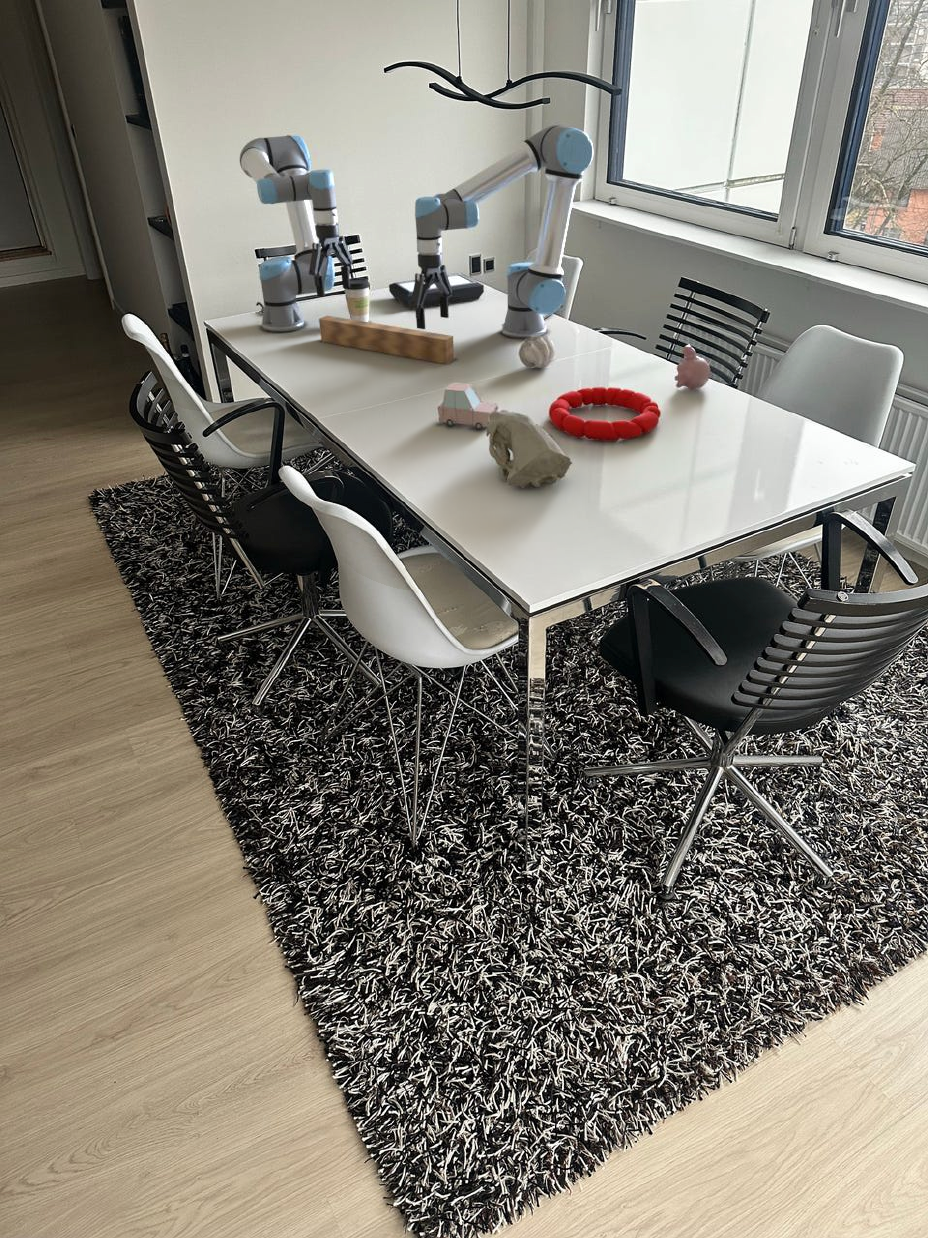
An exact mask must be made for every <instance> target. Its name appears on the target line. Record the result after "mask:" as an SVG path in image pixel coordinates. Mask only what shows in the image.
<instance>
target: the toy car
mask: <svg viewBox="0 0 928 1238" xmlns="http://www.w3.org/2000/svg"><path fill="white" fill-rule="evenodd" d="M498 409H499V404H498V403H497V402H490V401H489V402H487V401H483V397H481V396H480V395H479V394H478V393H477V391H476V390H475V389H474V386H472V384H469V383H459V382H451V383H450V384H449V385H448V386H447V387H446V388H445V389H444V394H443V399H442V403H440V404H439V405H438V406H437V413H438V421H439V422H443V423H446V425H447V426H448V427H452V426H454V425H455V424H461V425H469V426H473V427H475V429H476V430H479V431H480V430H481V429H483V428H485V427H486V428H487V423H488V422H490V414H491V413H492V412H496V411H499V410H498Z"/></svg>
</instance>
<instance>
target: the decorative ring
mask: <svg viewBox="0 0 928 1238" xmlns="http://www.w3.org/2000/svg"><path fill="white" fill-rule="evenodd" d="M583 405H584V406H586V407H587V406H591V405H593V406H604V405H608V406H614V407H619V408H624V409H628V410H632V411H635V412H636V413H638V414H639V415H637V416H635V417H632V418H631V419H630V420H625V419H624V420H623V419H622V420H614V421H611V422H609V421H607V420H606V421H605V420H593V419H587V420H586V421H585V419H584V418H582V417H579V416H577V415H573V414H571V413H570V410H571V409H579V408H581V407H582V406H583ZM548 416H549V419H550V422H551V423H552V425H553V426H554V427H555V428H556V429H558V430H559V431H561V432H563V433H567V434H568V435H569V436H573V437H576V438H580V439H582V438H583V437H585V438H586V439H587V440H591V441H601V442H602V441H603V442H608V441H609V442H610V441H611V442H612V441H615V442H616V441H618V440H630V439H634V438H638V437H641V436H642V434H647V433H650V432H651V431H653V430H654V429H655V428H656V427H657V426H658V424H659V422H660V421H659V420H660V417H661V410H660V408H659V405H658V403H657V402H656V401H652V399H651V397H649V396H648V395H646V394H644V393H642V392H635V391H634V390H632V389H628V388H624V389H622V388H620V387H613V386H612V387H611V386H610V387H608V388H606V387H604V386H594V387H585V388H584V387H583V388H580V389H578V390H571V391H568V392H565V393H563V394H561V395H560V396H558V397H557V398H556V400H554V401H552V403H551V404H550V407H549V409H548Z"/></svg>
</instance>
